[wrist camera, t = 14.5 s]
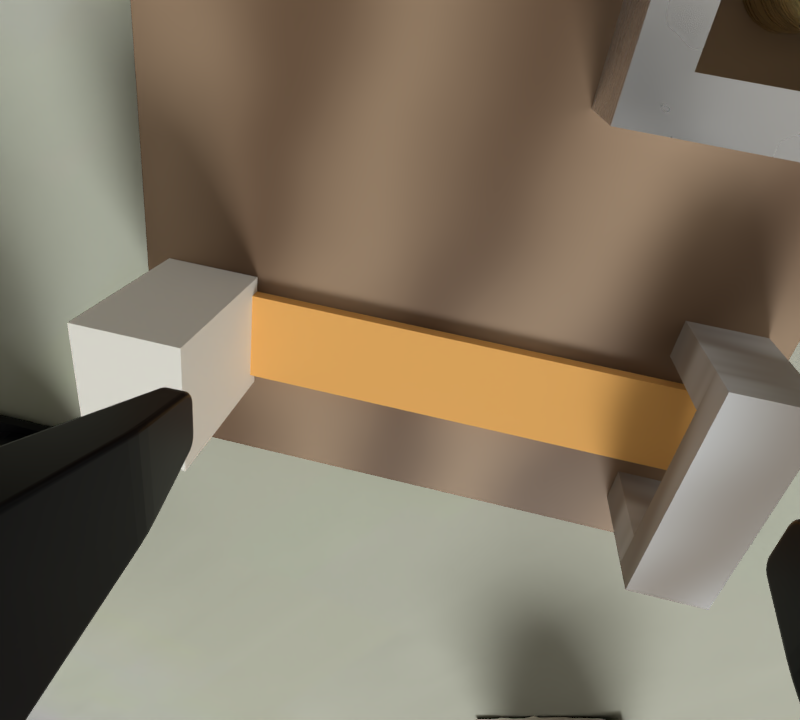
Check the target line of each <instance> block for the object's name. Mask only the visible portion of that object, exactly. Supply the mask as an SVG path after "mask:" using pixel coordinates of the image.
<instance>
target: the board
mask: <svg viewBox="0 0 800 720" xmlns="http://www.w3.org/2000/svg"><path fill="white" fill-rule="evenodd" d="M622 4H623V0H131V14H132V29H133V44H134V58H135V73H136V88H137V103H138V118H139V133H140V148H141V162H142V177H143V192H144V207H145V222H146V237H147V252H148V267H149V271H150V270H151V269H153V268H155V267H156V266H158V265H159V264H161V263H162V262H164V261H166V260H167V259H169V258H171V259H175V260H180V261H185V262H189V263H194V264H199V265H203V266H208V267H213V268H217V269H222V270H227V271H231V272H236V273H240V274H245V275H250V276H254V277H258V283H257V291H258V292H262V293H267V294H271V295H276V296H281V297H285V298H290V299H294V300H299V301H304V302H308V303H313V304H317V305H322V306H327V307H331V308H336V309H340V310H345V311H350V312H354V313H359V314H364V315H368V316H373V317H377V318H382V319H387V320H391V321H396V322H400V323H405V324H410V325H414V326H419V327H423V328H428V329H433V330H437V331H442V332H446V333H451V334H456V335H460V336H465V337H469V338H474V339H479V340H483V341H488V342H492V343H497V344H502V345H506V346H511V347H516V348H520V349H525V350H529V351H534V352H539V353H543V354H548V355H552V356H557V357H562V358H566V359H571V360H575V361H580V362H585V363H589V364H594V365H598V366H603V367H608V368H612V369H617V370H621V371H626V372H631V373H635V374H640V375H644V376H649V377H654V378H658V379H663V380H668V381H672V382H677V383H681V384H684V386H685V388H686V390H687V392H688V394H689V396H690V398H691V400H692V402H693V404H694V406H695V408H696V410H697V411H696V413H695V415H694V417H693V419H692V421H691V423H690V425H689V427H688V429H687V431H686V433H685V435H684V437H683V439H682V441H681V443H680V445H679V447H678V449H677V451H676V453H675V455H674V457H673V459H672V461H671V463H670V465H669V467H668V469H667V470H663V469H659V468H655V467H650V466H646V465H642V464H637V463H633V462H628V461H624V460H620V459H615V458H611V457H607V456H602V455H598V454H593V453H589V452H585V451H580V450H576V449H571V448H567V447H563V446H558V445H554V444H550V443H545V442H541V441H536V440H532V439H528V438H523V437H519V436H515V435H510V434H506V433H501V432H497V431H493V430H488V429H484V428H480V427H475V426H471V425H466V424H462V423H458V422H453V421H449V420H444V419H440V418H436V417H431V416H427V415H423V414H418V413H414V412H409V411H405V410H401V409H396V408H392V407H388V406H383V405H379V404H374V403H370V402H366V401H361V400H357V399H353V398H348V397H344V396H339V395H335V394H331V393H326V392H322V391H317V390H313V389H309V388H304V387H300V386H296V385H291V384H287V383H282V382H278V381H274V380H269V379H265V378H261V377H256V376H254V382H253V384H252V385H251V386H250V388H249V389H248V390H247V392H246V393H245V394H244V395H243V397H242V398H241V399H240V401H239V402H238V403H237V405H236V406H235V407H234V409H233V410H232V411H231V412H230V414H229V415H228V416H227V418H226V419H225V420H224V422H223V423H222V424H221V426H220V427H219V428H218V429H217V431H216V432H215V433H214V435H213V436H212V437H215V438H219V439H223V440H228V441H232V442H236V443H240V444H244V445H249V446H253V447H257V448H261V449H265V450H270V451H274V452H278V453H282V454H286V455H291V456H295V457H299V458H303V459H307V460H312V461H316V462H320V463H324V464H329V465H333V466H337V467H341V468H345V469H350V470H354V471H358V472H362V473H366V474H371V475H375V476H379V477H383V478H387V479H392V480H396V481H400V482H404V483H408V484H413V485H417V486H421V487H425V488H429V489H434V490H438V491H442V492H446V493H451V494H455V495H459V496H463V497H467V498H472V499H476V500H480V501H484V502H488V503H493V504H497V505H501V506H505V507H509V508H514V509H518V510H522V511H526V512H530V513H535V514H539V515H543V516H547V517H552V518H556V519H560V520H564V521H568V522H573V523H577V524H581V525H585V526H589V527H594V528H598V529H602V530H606V531H610V532H614V535H615V540H616V545H617V550H618V555H619V560H620V565H621V570H622V575H623V579H624V584H625V589H626V590H629V591H633V592H637V593H641V594H645V595H649V596H654V597H658V598H662V599H666V600H670V601H674V602H678V603H682V604H686V605H690V606H694V607H699V608H703V609H707V610H709V608H710V607H711V605H712V604H713V602H714V601H715V599H716V598H717V596H718V595H719V593H720V591H721V590H722V588H723V587H724V585H725V584H726V582H727V581H728V579H729V578H730V576H731V575H732V573H733V571H734V570H735V568H736V567H737V565H738V564H739V562H740V561H741V559H742V558H743V556H744V554H745V553H746V551H747V550H748V548H749V547H750V545H751V544H752V542H753V541H754V539H755V538H756V536H757V534H758V533H759V531H760V530H761V528H762V527H763V525H764V524H765V522H766V521H767V519H768V517H769V516H770V514H771V513H772V511H773V510H774V508H775V507H776V505H777V504H778V502H779V501H780V499H781V497H782V496H783V494H784V493H785V491H786V490H787V488H788V487H789V485H790V484H791V482H792V481H793V479H794V477H795V476H796V474H797V473H798V471H799V470H800V374H799V372H798V371H797V370H796V369H795V368H794V367H793V365H792V364H791V363H790V362H789V361H788V360H789V359H790V357H791V355H792V353H793V352H794V350H795V348H796V346H797V345H798V343H799V341H800V162H795V161H790V160H785V159H779V158H774V157H769V156H764V155H759V154H753V153H748V152H743V151H738V150H732V149H727V148H722V147H717V146H712V145H706V144H701V143H696V142H691V141H685V140H680V139H675V138H670V137H665V136H659V135H654V134H649V133H644V132H638V131H633V130H628V129H623V128H618V127H612V126H610V125H609V124H608V123H607V122H605V121H604V120H603V119H602V118H601V117H600V116H599V115H598V114H597V113H595V112H594V111H593V110H592V109H591V107H592V104H593V101H594V97H595V94H596V91H597V87H598V84H599V81H600V77H601V74H602V71H603V67H604V64H605V61H606V57H607V54H608V51H609V47H610V44H611V41H612V37H613V34H614V31H615V27H616V24H617V21H618V17H619V14H620V11H621V7H622ZM695 72H697V73H702V74H708V75H713V76H719V77H724V78H730V79H735V80H740V81H746V82H751V83H757V84H762V85H768V86H773V87H779V88H784V89H790V90H795V91H800V33H795V34H780V33H773V32H769V31H767V30H765V29H763V28H761V27H759V26H758V25H757V24H756V23H755V22H753V21H752V19H751V18H750V17H749V15H748V14H747V12H746V10H745V7H744V4H743V0H721V2H720V4H719V7H718V10H717V13H716V15H715V18H714V21H713V23H712V26H711V29H710V31H709V34H708V37H707V40H706V42H705V45H704V48H703V50H702V53H701V56H700V58H699V61H698V64H697V66H696V69H695Z"/></svg>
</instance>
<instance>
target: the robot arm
mask: <svg viewBox="0 0 800 720" xmlns="http://www.w3.org/2000/svg"><path fill="white" fill-rule="evenodd" d="M192 443H193V405H192V398H191V395H190V394H189V393H188V392H186V391H182V390H177V389H172V388H167V387H162V388H159V389H156V390H153V391H151V392H148V393H145V394H142V395H140V396H137V397H134V398H131V399H129V400H126V401H123V402H120V403H118V404H115V405H112V406H109V407H106V408H104V409H101V410H98V411H95V412H93V413H90V414H87V415H84V416H82V417H79V418H76V419H73V420H71V421H68V422H65V423H62V424H60V425H57V426H54V427H47V426H43V425H39V424H35V423H31V422H26V421H22V420H18V419H14V418H10V417H6V416H2V415H0V720H26V719H27V717H28V716H29V714H30V712H31V711H32V709H33V708H34V706H35V705H36V703H37V702H38V700H39V699H40V697H41V696H42V694H43V693H44V691H45V690H46V688H47V687H48V685H49V684H50V682H51V681H52V679H53V678H54V676H55V674H56V673H57V671H58V670H59V668H60V667H61V665H62V664H63V662H64V661H65V659H66V658H67V656H68V655H69V653H70V652H71V650H72V649H73V647H74V646H75V644H76V643H77V641H78V640H79V638H80V637H81V635H82V633H83V632H84V630H85V629H86V627H87V626H88V624H89V623H90V621H91V620H92V618H93V617H94V615H95V614H96V612H97V611H98V609H99V608H100V606H101V605H102V603H103V602H104V600H105V599H106V597H107V595H108V594H109V592H110V591H111V589H112V588H113V586H114V585H115V583H116V582H117V580H118V579H119V577H120V576H121V574H122V573H123V571H124V570H125V568H126V567H127V565H128V564H129V562H130V561H131V559H132V558H133V556H134V554H135V553H136V551H137V550H138V548H139V547H140V545H141V544H142V542H143V540H144V539H145V537H146V536H147V534H148V532H149V530H150V528H151V527H152V525H153V523H154V521H155V519H156V517H157V515H158V513H159V511H160V509H161V507H162V505H163V503H164V501H165V499H166V497H167V495H168V493H169V491H170V489H171V487H172V486H173V484H174V482H175V480H176V478H177V476H178V474H179V472H180V470H181V468H182V466H183V464H184V462H185V460H186V458H187V456H188V454H189V452H190V449H191V447H192ZM766 572H767V578H768V583H769V587H770V591H771V595H772V600H773V604H774V608H775V612H776V616H777V621H778V625H779V629H780V633H781V637H782V642H783V646H784V650H785V654H786V658H787V662H788V666H789V670H790V673H791V677H792V680H793V683H794V687H795V690H796V693H797V696H798V699H799V702H800V519H798V520H795V521H793V522H792V523H791V524H790V525H789V526H788V528H787V530H786V531H785V533H784V534H783V536H782V537H781V539H780V541H779V542H778V544H777V545H776V547H775V548H774V550H773V551H772V553H771V555H770V556H769V558H768V562H767V567H766Z"/></svg>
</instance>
